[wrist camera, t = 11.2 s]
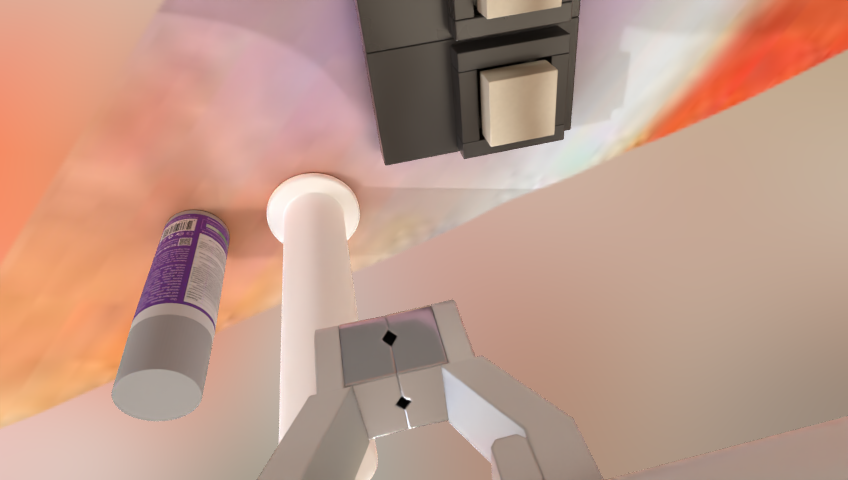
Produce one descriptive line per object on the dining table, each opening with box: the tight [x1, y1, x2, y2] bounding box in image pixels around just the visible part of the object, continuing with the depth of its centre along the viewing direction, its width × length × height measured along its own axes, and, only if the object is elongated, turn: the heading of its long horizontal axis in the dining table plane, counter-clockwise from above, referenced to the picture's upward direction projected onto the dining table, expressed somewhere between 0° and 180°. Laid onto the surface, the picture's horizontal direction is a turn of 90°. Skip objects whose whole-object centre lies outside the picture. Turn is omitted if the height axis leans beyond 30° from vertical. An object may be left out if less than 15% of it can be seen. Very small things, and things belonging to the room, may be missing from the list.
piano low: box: [362, 17, 579, 165], centre depth 35 cm, size 14×8×4 cm, turn 96°
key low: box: [480, 60, 558, 147], centre depth 33 cm, size 4×4×2 cm
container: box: [112, 210, 230, 421], centre depth 34 cm, size 5×5×15 cm
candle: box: [267, 173, 378, 480], centre depth 31 cm, size 7×7×25 cm
